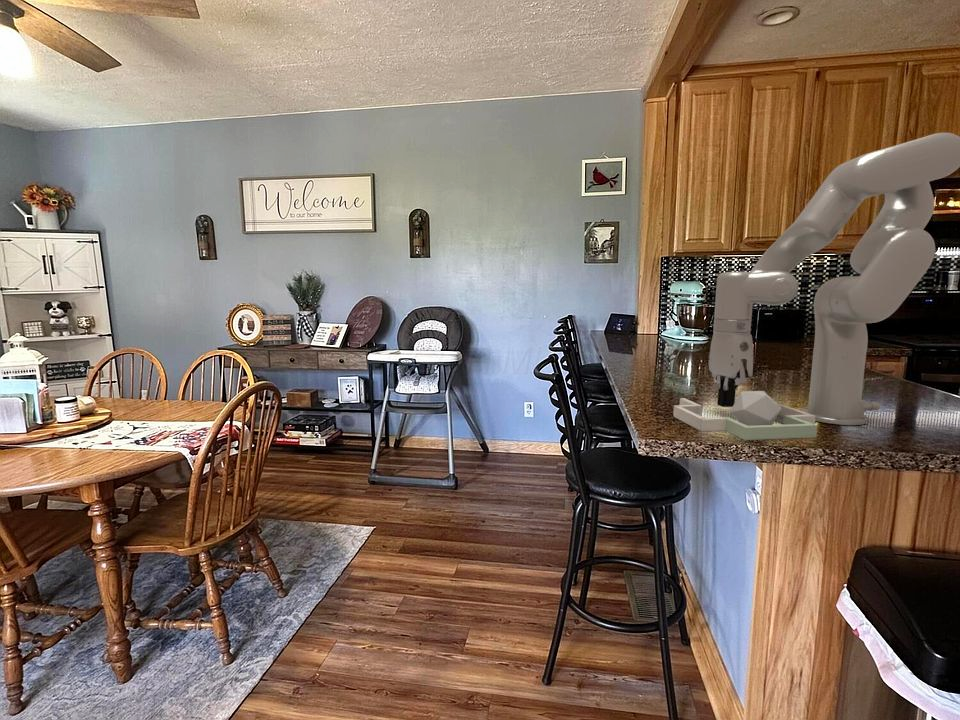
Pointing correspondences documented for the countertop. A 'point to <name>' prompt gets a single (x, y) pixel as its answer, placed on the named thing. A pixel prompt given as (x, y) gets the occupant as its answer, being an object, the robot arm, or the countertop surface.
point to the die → (755, 408)
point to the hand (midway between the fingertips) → (725, 405)
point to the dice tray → (792, 420)
